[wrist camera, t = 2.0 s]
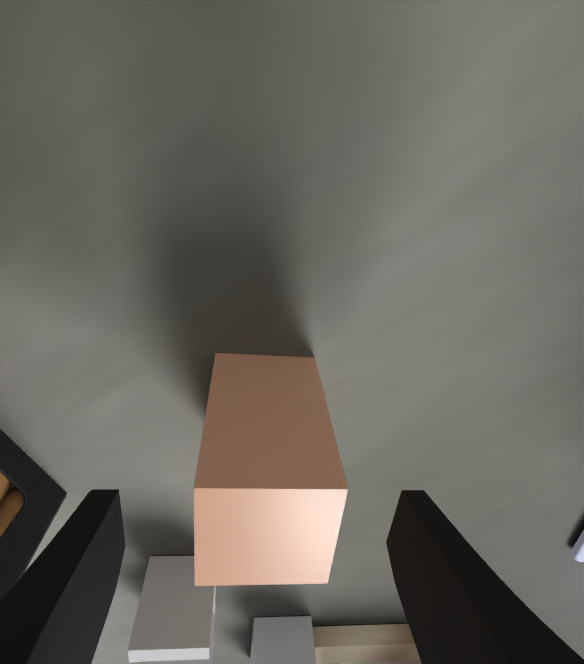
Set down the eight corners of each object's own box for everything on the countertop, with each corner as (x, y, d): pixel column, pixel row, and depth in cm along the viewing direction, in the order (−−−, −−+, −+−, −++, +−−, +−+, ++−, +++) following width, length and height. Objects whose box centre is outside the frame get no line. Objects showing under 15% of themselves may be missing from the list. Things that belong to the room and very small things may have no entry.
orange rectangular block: (314, 357, 15) (347, 489, 10) (303, 433, 17) (327, 583, 11) (215, 353, 15) (194, 488, 9) (214, 431, 16) (194, 586, 11)
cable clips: (323, 554, 20) (337, 643, 17) (302, 657, 24) (310, 745, 21) (149, 556, 19) (127, 650, 16) (158, 662, 23) (142, 755, 20)
